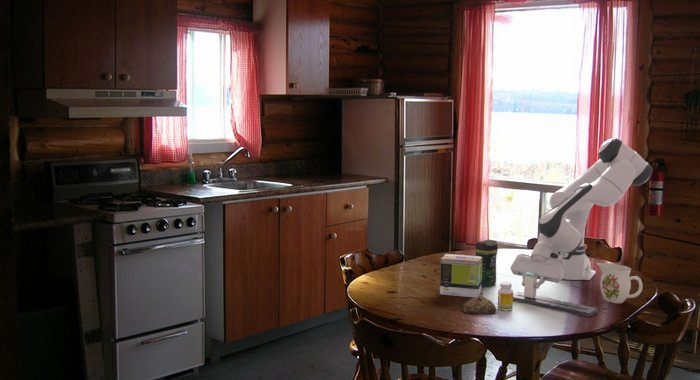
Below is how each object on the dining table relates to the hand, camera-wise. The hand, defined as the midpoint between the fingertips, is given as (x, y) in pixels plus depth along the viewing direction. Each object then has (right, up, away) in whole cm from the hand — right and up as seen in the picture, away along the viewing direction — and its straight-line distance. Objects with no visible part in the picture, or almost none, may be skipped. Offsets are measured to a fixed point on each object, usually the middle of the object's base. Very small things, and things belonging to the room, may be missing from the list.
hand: (529, 286), depth 277 cm
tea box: (-25, -4, +11) cm, 27 cm away
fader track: (+7, -7, -4) cm, 11 cm away
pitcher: (+34, -6, +3) cm, 35 cm away
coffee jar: (-12, -3, +25) cm, 28 cm away
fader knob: (0, -4, +1) cm, 4 cm away
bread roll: (-21, -8, -10) cm, 24 cm away
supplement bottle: (-11, -7, -9) cm, 16 cm away
